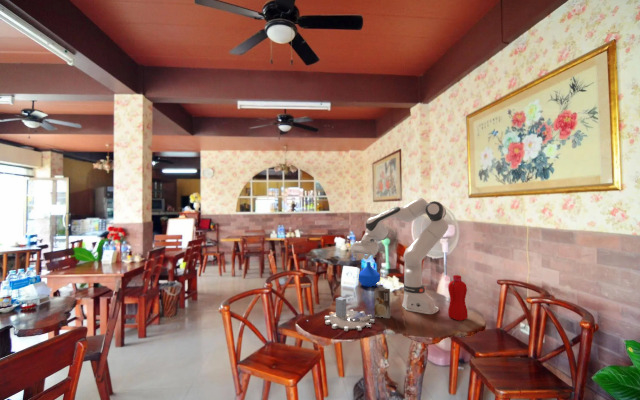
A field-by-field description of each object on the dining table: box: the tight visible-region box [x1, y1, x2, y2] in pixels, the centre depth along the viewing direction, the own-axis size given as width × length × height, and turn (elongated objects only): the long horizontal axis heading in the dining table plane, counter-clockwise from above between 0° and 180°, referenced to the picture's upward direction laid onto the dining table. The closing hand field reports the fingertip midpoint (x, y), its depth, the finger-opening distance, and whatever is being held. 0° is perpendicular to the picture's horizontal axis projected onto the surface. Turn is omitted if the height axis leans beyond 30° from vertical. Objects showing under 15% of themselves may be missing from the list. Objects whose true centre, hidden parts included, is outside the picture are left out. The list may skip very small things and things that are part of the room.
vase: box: [358, 261, 381, 288], centre depth 251 cm, size 18×18×19 cm
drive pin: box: [335, 296, 347, 317], centre depth 181 cm, size 4×4×10 cm
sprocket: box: [324, 309, 375, 332], centre depth 177 cm, size 29×29×2 cm
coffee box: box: [373, 287, 392, 319], centre depth 184 cm, size 9×6×16 cm
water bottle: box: [447, 274, 469, 322], centre depth 179 cm, size 9×11×25 cm
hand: (359, 258), depth 207 cm, fingers open, 8 cm apart
